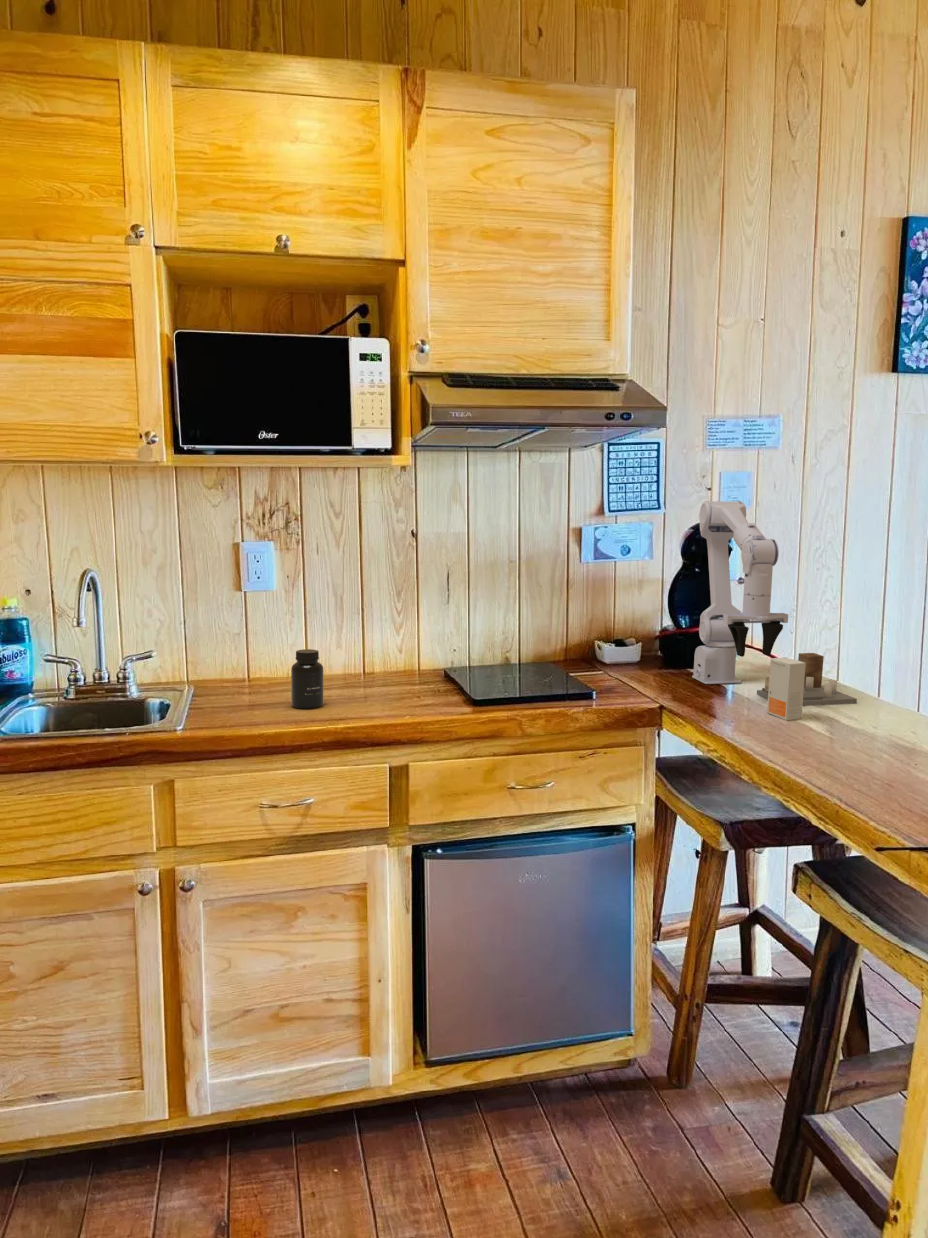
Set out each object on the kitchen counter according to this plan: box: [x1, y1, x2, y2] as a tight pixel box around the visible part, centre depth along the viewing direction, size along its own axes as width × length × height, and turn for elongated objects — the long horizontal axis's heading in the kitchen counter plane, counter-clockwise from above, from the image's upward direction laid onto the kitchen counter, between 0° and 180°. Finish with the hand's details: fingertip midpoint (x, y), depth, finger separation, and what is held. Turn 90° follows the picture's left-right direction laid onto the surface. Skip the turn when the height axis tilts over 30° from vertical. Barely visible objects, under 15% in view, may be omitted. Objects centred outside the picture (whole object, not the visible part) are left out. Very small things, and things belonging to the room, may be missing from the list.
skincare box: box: [766, 656, 806, 721], centre depth 180 cm, size 6×4×12 cm
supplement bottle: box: [290, 648, 324, 710], centre depth 186 cm, size 7×7×12 cm
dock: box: [756, 677, 858, 706], centre depth 196 cm, size 18×11×4 cm, turn 100°
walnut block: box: [797, 652, 825, 688], centre depth 206 cm, size 4×4×8 cm
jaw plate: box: [764, 676, 769, 692], centre depth 194 cm, size 1×8×3 cm, turn 11°
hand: (753, 655), depth 192 cm, fingers open, 6 cm apart
